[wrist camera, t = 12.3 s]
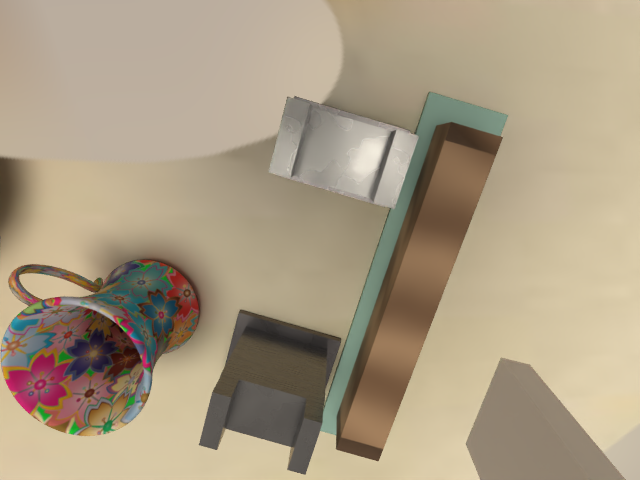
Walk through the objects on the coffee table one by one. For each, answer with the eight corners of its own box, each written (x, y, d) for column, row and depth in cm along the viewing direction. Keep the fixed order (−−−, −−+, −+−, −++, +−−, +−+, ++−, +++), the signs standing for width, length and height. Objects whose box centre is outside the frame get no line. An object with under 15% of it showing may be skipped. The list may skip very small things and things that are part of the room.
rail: (436, 125, 29) (451, 121, 25) (481, 138, 29) (502, 137, 25) (336, 416, 35) (336, 449, 31) (374, 426, 35) (378, 461, 31)
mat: (428, 92, 29) (430, 91, 29) (505, 115, 29) (508, 115, 29) (317, 426, 36) (317, 429, 36) (380, 443, 36) (380, 447, 36)
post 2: (295, 97, 30) (274, 71, 20) (409, 131, 30) (443, 121, 20) (275, 174, 31) (246, 184, 21) (384, 206, 31) (405, 231, 22)
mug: (229, 310, 34) (181, 380, 24) (156, 371, 36) (81, 462, 25) (128, 205, 32) (29, 231, 22) (56, 275, 34) (-67, 330, 24)
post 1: (240, 309, 34) (200, 374, 24) (340, 338, 34) (341, 413, 24) (225, 369, 35) (181, 453, 25) (321, 397, 35) (315, 490, 26)
